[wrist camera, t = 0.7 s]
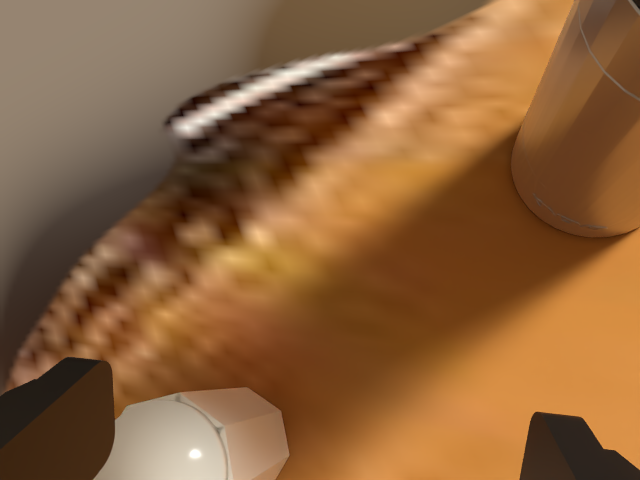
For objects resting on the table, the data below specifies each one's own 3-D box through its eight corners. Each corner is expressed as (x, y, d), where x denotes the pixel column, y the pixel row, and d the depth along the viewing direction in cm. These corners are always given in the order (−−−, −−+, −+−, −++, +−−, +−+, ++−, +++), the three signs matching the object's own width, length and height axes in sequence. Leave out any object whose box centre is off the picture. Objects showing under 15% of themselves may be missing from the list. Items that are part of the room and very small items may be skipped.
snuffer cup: (224, 371, 32) (142, 369, 22) (305, 427, 30) (253, 452, 21) (170, 459, 31) (61, 497, 22) (250, 523, 29) (169, 594, 20)
